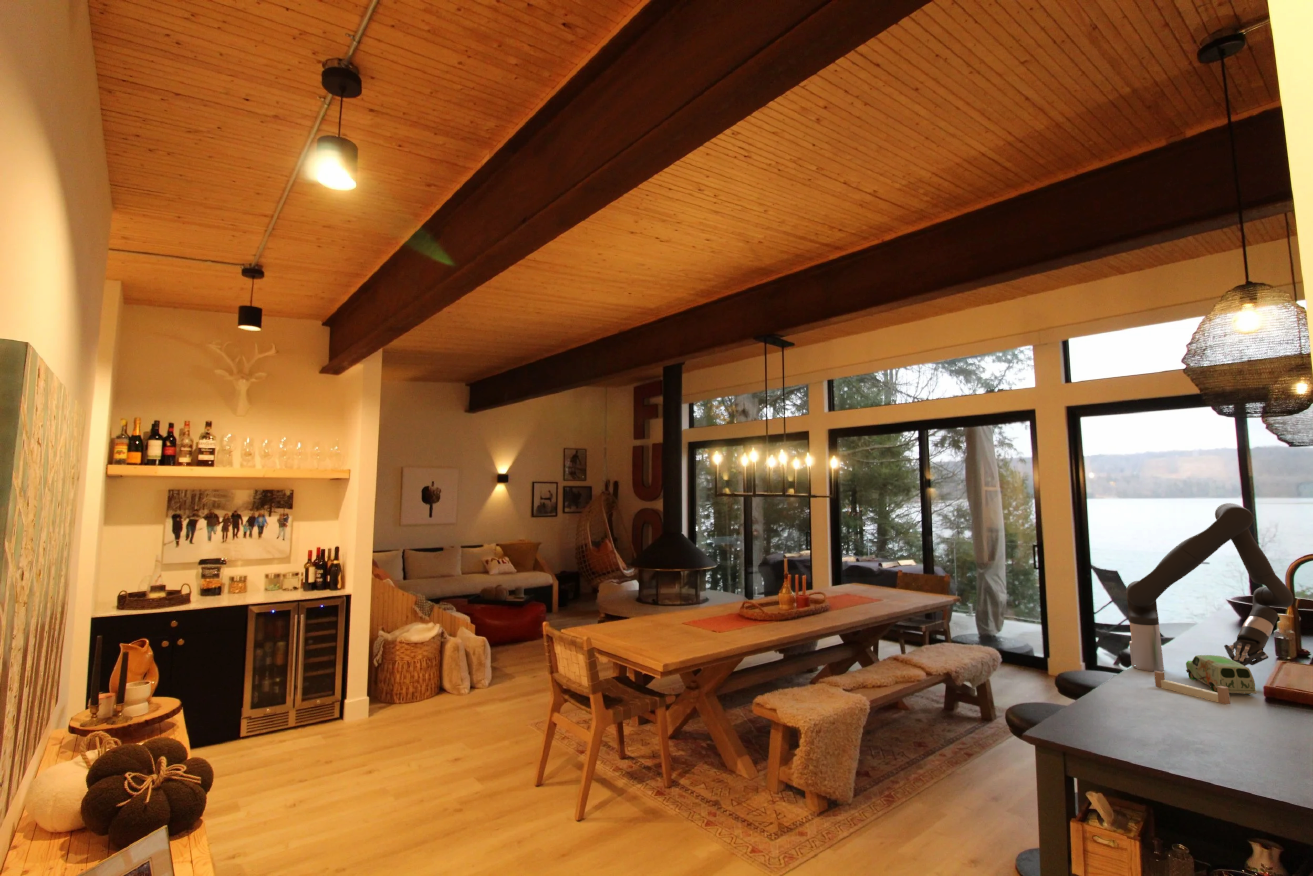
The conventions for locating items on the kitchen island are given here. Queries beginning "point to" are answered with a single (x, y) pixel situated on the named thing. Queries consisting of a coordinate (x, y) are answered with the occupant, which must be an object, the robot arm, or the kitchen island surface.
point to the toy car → (1221, 673)
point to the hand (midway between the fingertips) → (1235, 671)
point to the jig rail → (1193, 689)
